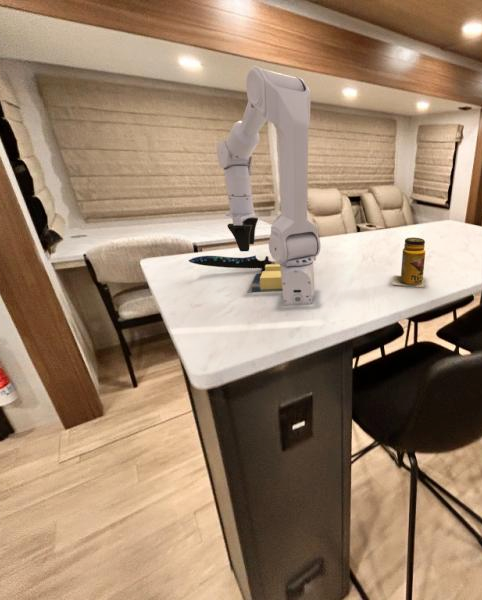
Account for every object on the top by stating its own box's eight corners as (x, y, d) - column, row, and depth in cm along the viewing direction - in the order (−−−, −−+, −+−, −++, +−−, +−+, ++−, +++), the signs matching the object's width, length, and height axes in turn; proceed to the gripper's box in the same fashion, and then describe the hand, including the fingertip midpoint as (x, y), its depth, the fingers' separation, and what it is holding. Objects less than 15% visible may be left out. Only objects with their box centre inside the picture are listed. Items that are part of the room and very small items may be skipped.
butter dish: (299, 293, 75) (299, 290, 75) (247, 295, 73) (246, 292, 72) (301, 274, 88) (301, 272, 87) (256, 276, 85) (256, 273, 85)
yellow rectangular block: (287, 288, 75) (286, 277, 74) (261, 289, 74) (259, 277, 73) (288, 281, 80) (287, 270, 79) (264, 282, 79) (262, 271, 77)
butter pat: (289, 276, 83) (288, 266, 82) (266, 277, 82) (264, 266, 81) (290, 274, 85) (289, 263, 84) (267, 275, 84) (265, 264, 83)
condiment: (423, 287, 82) (428, 243, 77) (392, 285, 83) (394, 241, 78) (423, 278, 89) (427, 237, 84) (394, 276, 89) (396, 235, 84)
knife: (307, 272, 92) (307, 258, 91) (307, 275, 90) (307, 260, 88) (193, 267, 85) (191, 251, 83) (189, 271, 82) (187, 254, 81)
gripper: (229, 192, 85) (237, 241, 90) (215, 198, 72) (224, 254, 77) (257, 193, 86) (262, 241, 92) (247, 198, 73) (254, 254, 79)
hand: (247, 247), depth 84 cm, fingers open, 7 cm apart
